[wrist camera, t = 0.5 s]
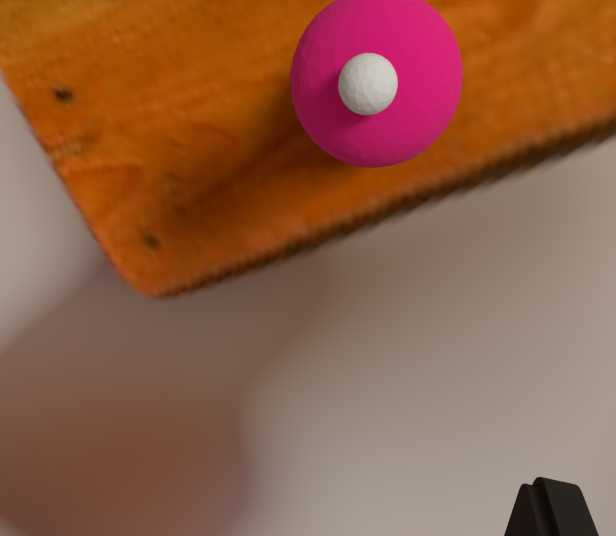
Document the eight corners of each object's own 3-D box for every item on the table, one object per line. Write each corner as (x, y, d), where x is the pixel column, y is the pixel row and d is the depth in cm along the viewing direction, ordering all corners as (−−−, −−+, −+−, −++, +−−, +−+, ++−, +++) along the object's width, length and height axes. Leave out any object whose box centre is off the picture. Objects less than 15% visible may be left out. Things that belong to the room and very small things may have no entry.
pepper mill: (310, 61, 35) (195, 55, 17) (410, -17, 33) (404, -124, 14) (375, 157, 37) (334, 251, 18) (475, 89, 34) (547, 117, 16)
